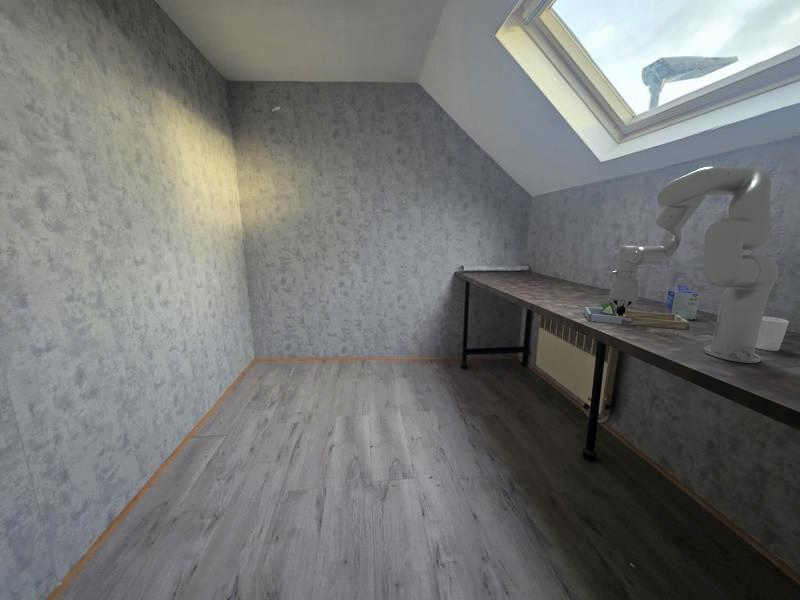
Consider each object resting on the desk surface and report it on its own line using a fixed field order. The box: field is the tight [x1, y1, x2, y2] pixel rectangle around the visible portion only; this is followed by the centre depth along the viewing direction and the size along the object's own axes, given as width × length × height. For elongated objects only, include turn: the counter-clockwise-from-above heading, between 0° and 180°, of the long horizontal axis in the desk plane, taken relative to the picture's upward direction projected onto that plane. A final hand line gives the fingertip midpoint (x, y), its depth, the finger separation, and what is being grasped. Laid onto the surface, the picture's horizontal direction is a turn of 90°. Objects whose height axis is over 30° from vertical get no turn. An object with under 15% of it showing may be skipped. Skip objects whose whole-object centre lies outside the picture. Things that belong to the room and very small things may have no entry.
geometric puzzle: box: [600, 302, 618, 316], centre depth 144 cm, size 7×7×8 cm
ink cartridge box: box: [664, 285, 701, 320], centre depth 145 cm, size 10×6×14 cm, turn 79°
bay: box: [583, 306, 623, 325], centre depth 146 cm, size 15×12×3 cm
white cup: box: [755, 315, 790, 352], centre depth 108 cm, size 8×8×10 cm
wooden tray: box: [624, 309, 691, 331], centre depth 138 cm, size 14×19×3 cm
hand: (620, 315), depth 144 cm, fingers closed
